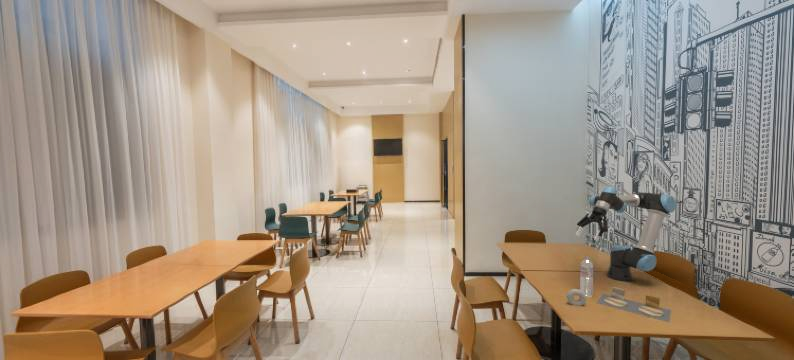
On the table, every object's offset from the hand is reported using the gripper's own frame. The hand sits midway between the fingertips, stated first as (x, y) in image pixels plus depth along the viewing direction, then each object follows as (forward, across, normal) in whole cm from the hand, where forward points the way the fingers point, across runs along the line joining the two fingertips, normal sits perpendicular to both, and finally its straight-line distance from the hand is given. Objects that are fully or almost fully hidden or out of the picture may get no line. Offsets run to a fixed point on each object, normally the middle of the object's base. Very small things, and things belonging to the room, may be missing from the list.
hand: (586, 238), depth 196 cm
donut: (+41, +12, +3) cm, 43 cm away
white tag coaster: (+26, +16, +23) cm, 38 cm away
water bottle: (+32, +4, +16) cm, 36 cm away
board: (+26, +23, +27) cm, 44 cm away
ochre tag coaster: (+22, +30, +30) cm, 48 cm away
